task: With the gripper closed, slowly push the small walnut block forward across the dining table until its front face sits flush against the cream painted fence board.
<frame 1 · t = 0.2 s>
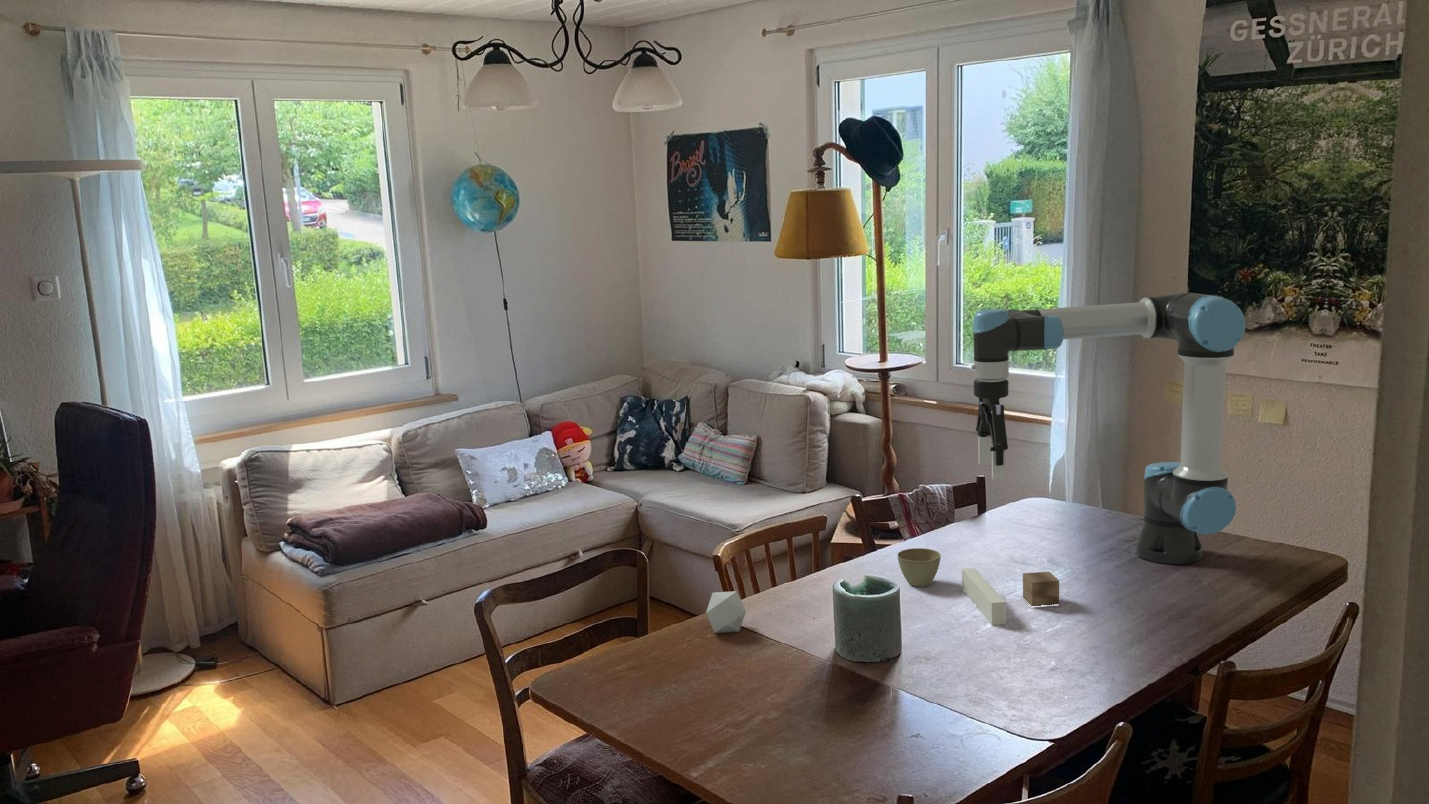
hand: (991, 471, 249), 28 cm above the table, fingers open, 13 cm apart
block: (1040, 602, 244), on the table
board: (982, 606, 243), on the table
die: (726, 630, 237), on the table
flower pot: (919, 584, 259), on the table
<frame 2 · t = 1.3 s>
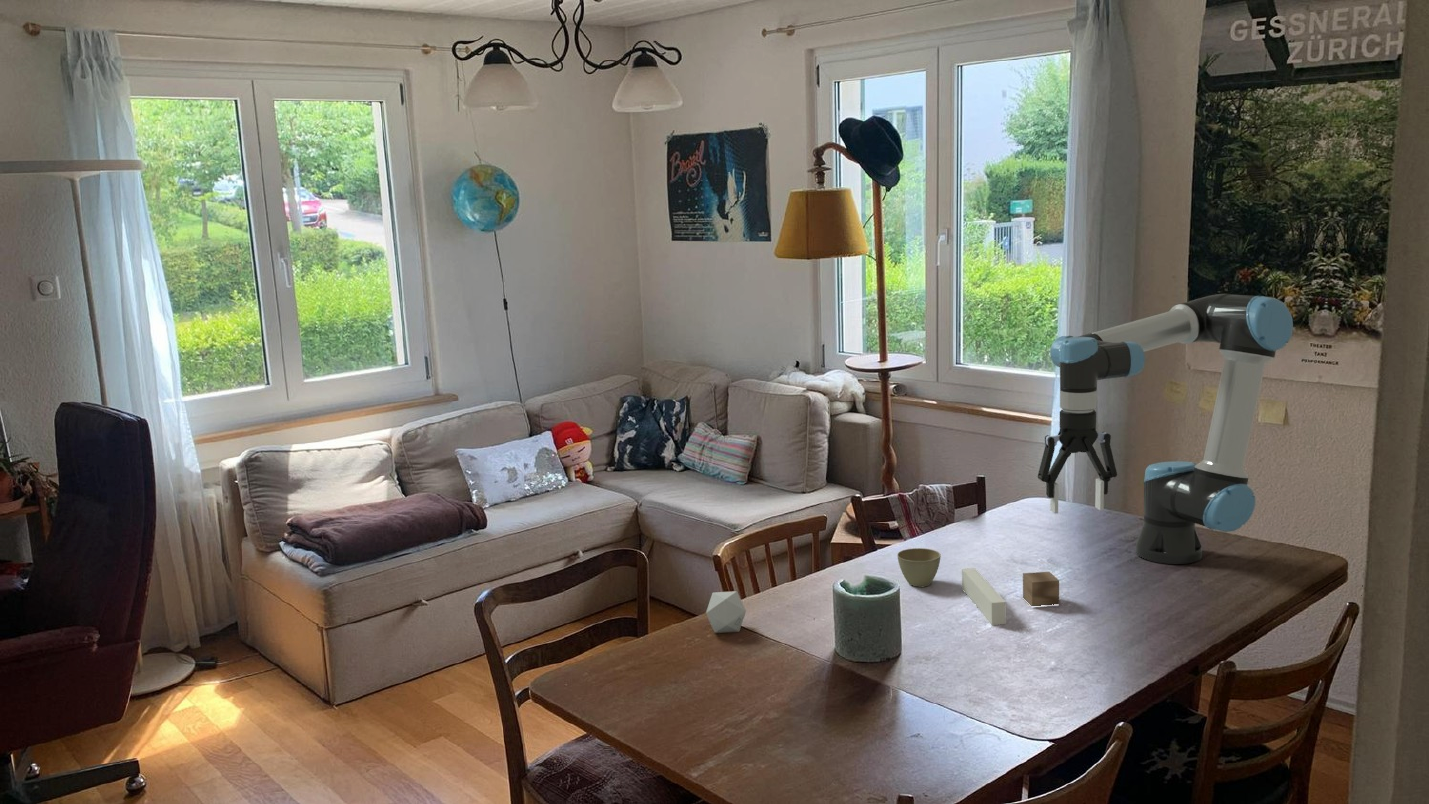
hand: (1076, 510, 241), 21 cm above the table, fingers open, 9 cm apart
nothing on the table moved.
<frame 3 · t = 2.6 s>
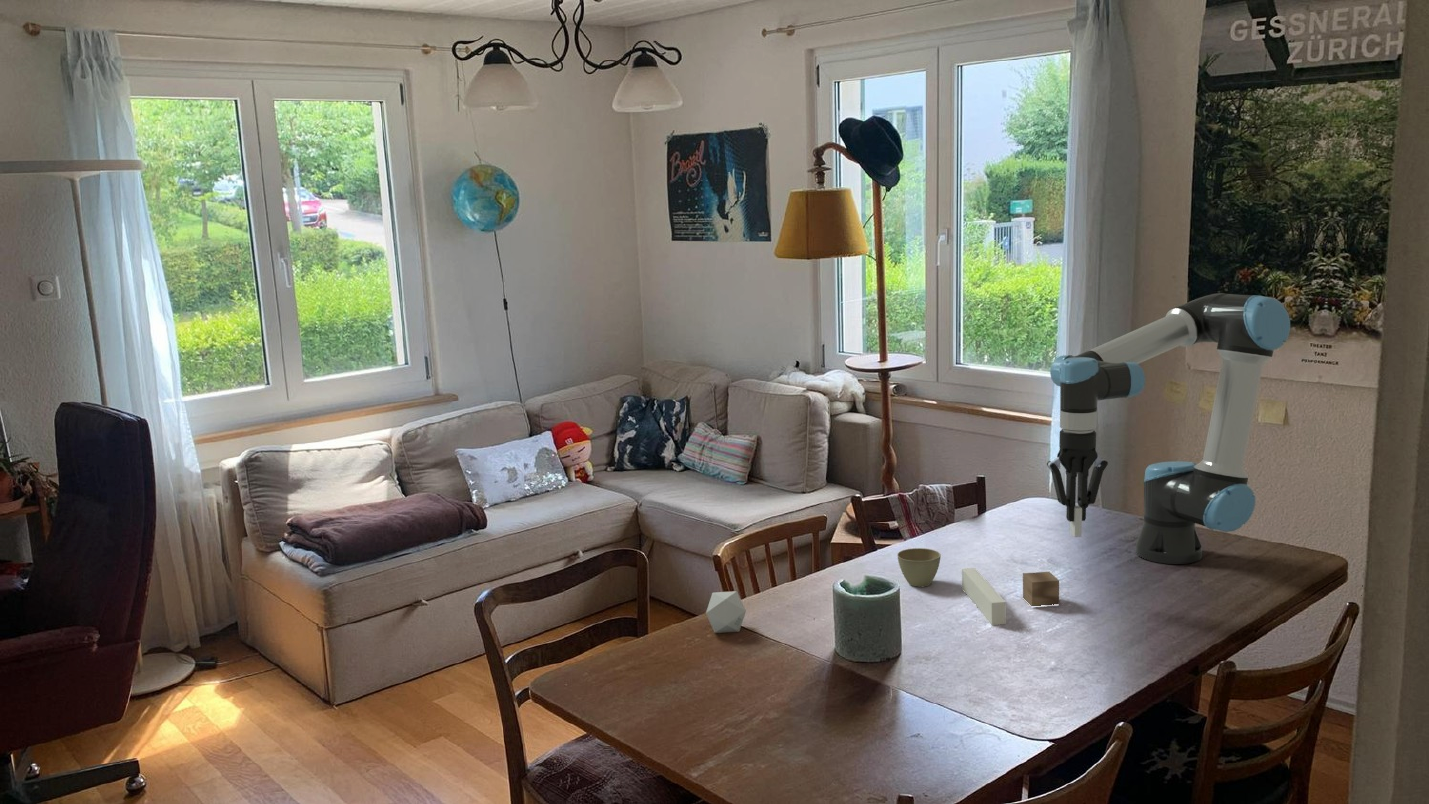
hand: (1075, 535, 241), 15 cm above the table, fingers closed
nothing on the table moved.
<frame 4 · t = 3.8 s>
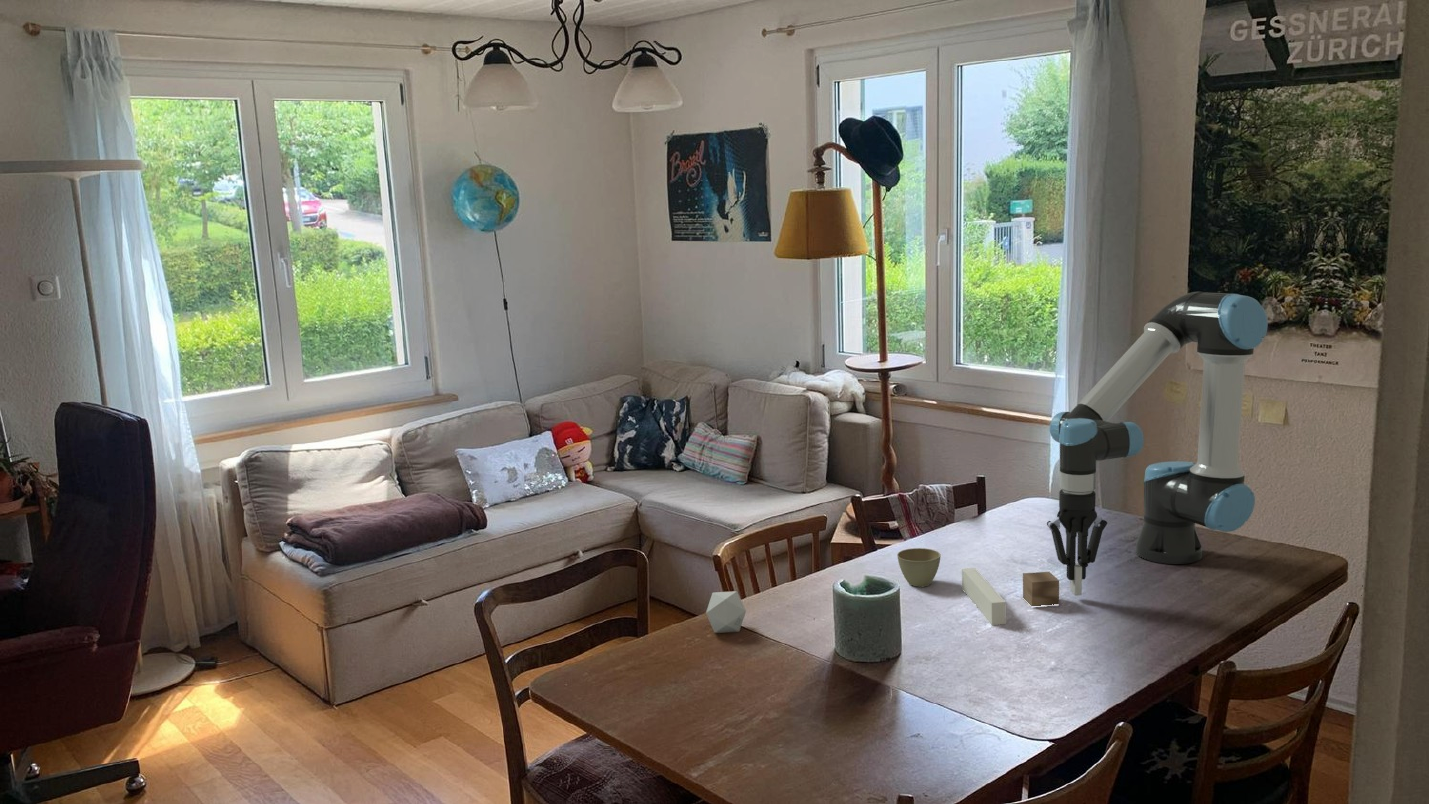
hand: (1075, 593, 244), 2 cm above the table, fingers closed
nothing on the table moved.
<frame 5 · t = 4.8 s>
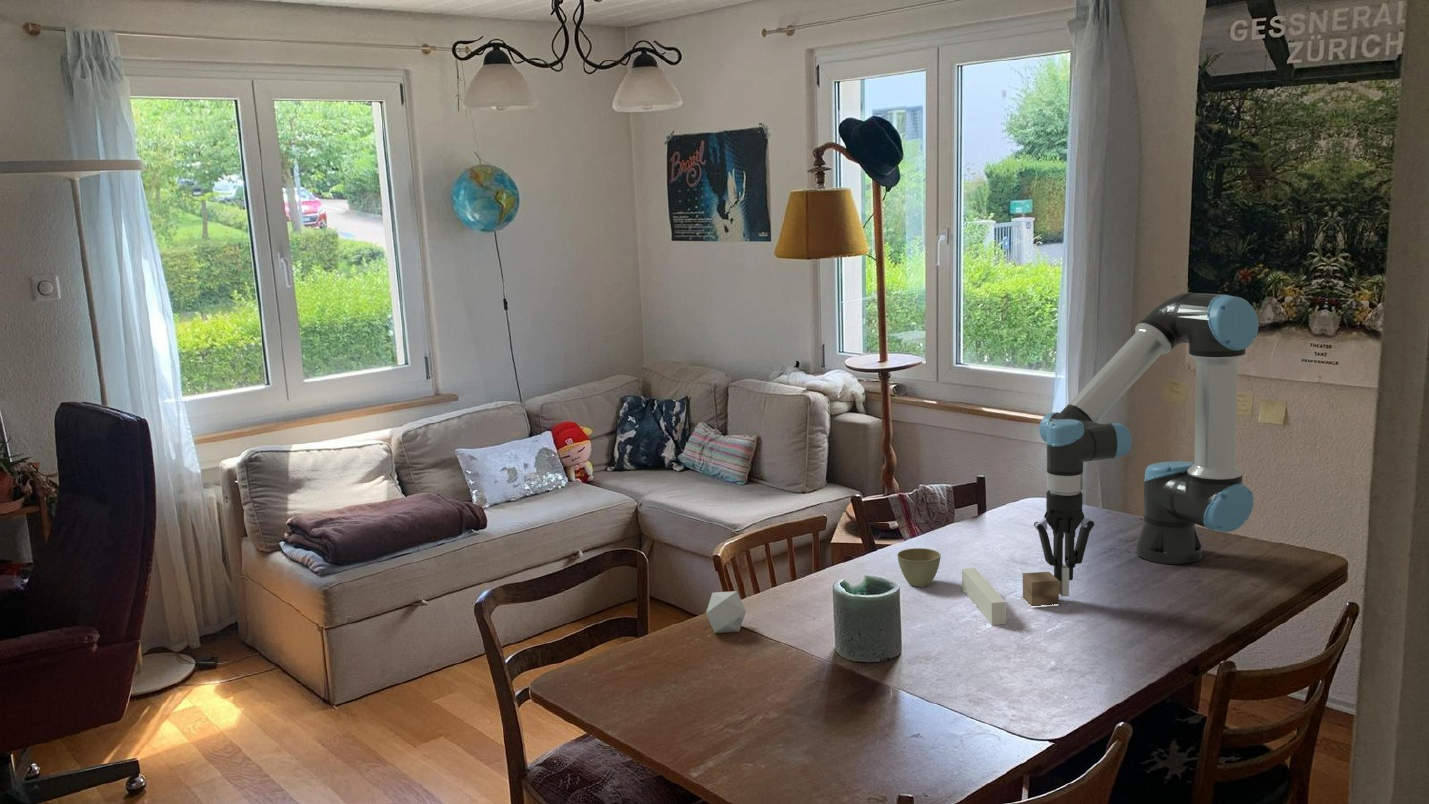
hand: (1063, 594, 244), 2 cm above the table, fingers closed
block: (1040, 602, 244), on the table, touching gripper
everything else where it was.
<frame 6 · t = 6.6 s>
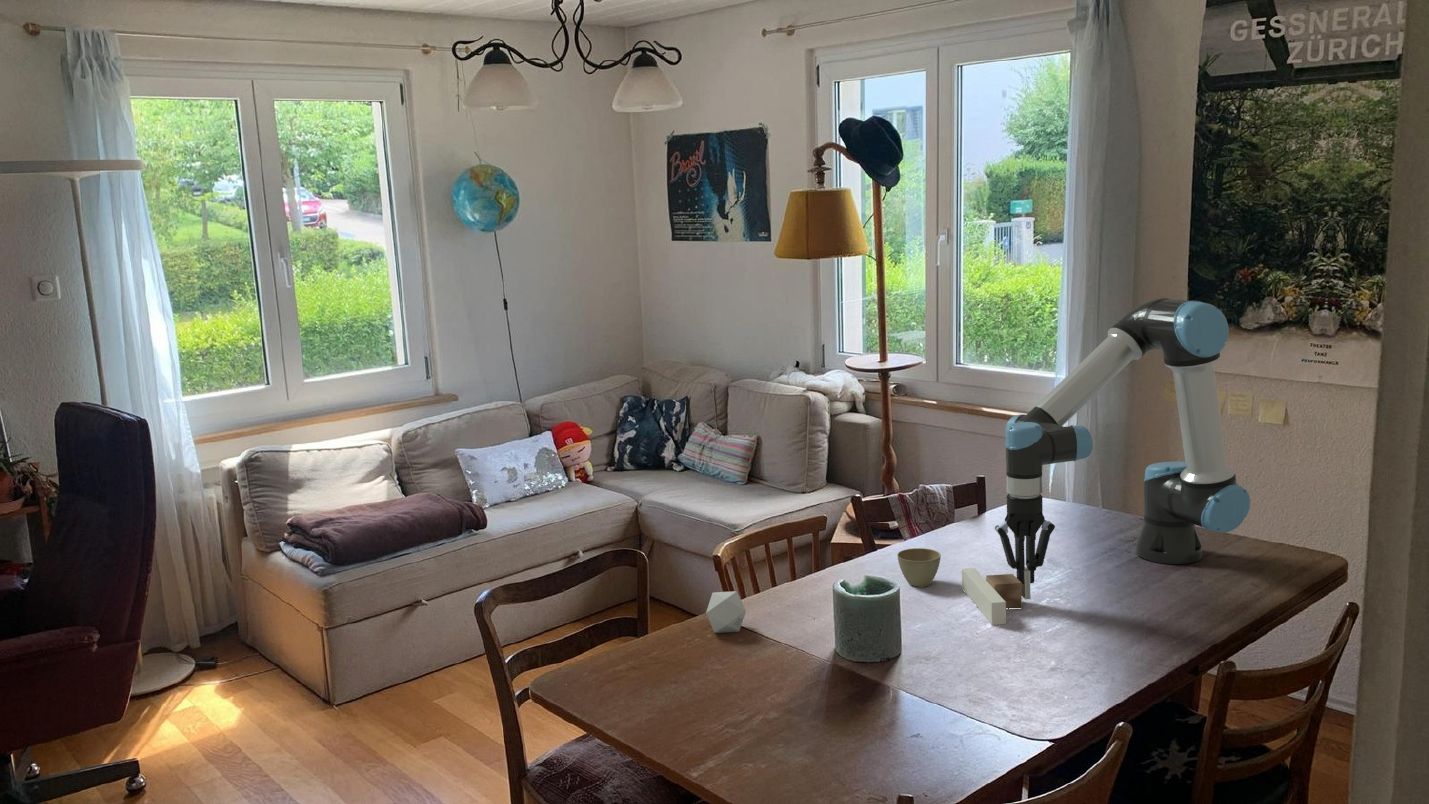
hand: (1025, 597, 243), 1 cm above the table, fingers closed
block: (1003, 605, 243), on the table, touching board, gripper
everything else where it was.
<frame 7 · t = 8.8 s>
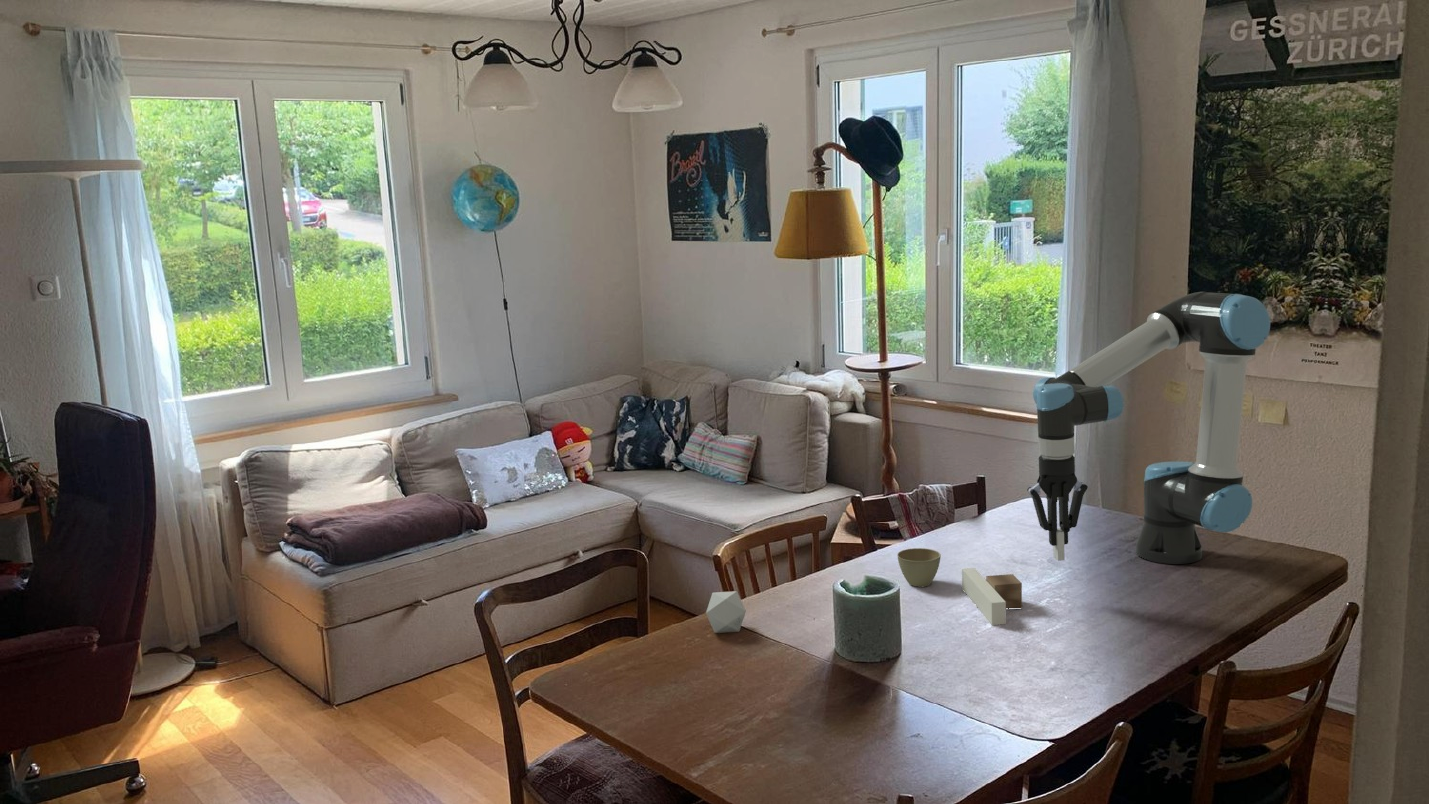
hand: (1059, 558, 244), 9 cm above the table, fingers closed
block: (1003, 605, 243), on the table
everything else where it was.
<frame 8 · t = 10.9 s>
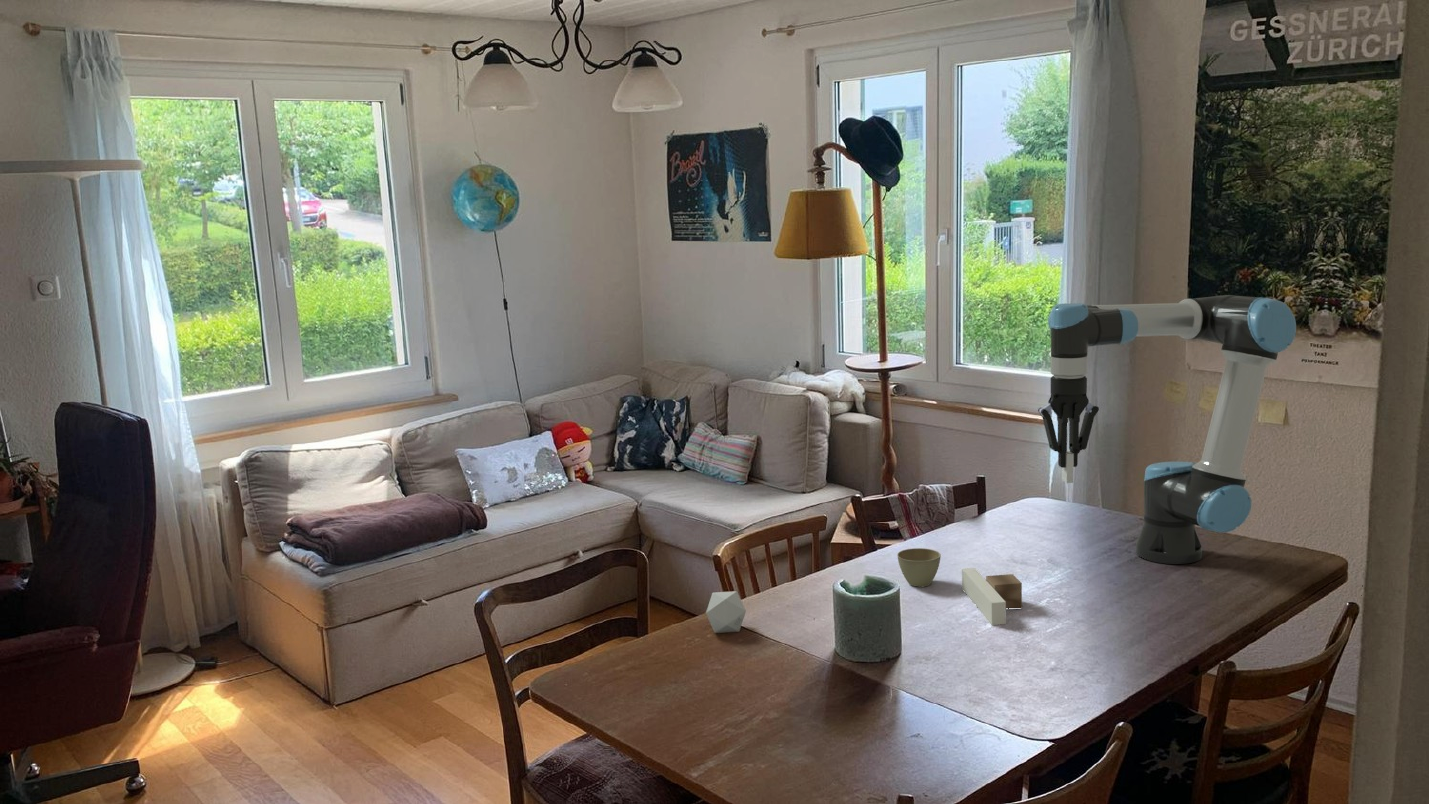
hand: (1067, 481, 242), 26 cm above the table, fingers closed
nothing on the table moved.
at the end: block inside the target area on the table beside the board (1.1 cm from its centre), on the table; block tilted 0° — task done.
